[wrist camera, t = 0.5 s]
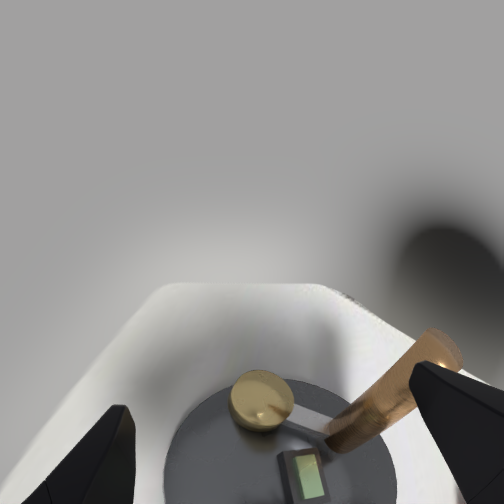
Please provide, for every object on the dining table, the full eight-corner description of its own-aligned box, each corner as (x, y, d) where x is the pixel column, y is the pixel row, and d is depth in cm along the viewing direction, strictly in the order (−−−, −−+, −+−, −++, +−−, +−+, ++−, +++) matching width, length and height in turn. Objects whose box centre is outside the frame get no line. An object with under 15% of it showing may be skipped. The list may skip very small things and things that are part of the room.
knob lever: (218, 416, 20) (287, 304, 13) (239, 371, 24) (304, 255, 18) (352, 465, 19) (469, 385, 12) (358, 420, 23) (454, 332, 16)
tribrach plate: (408, 542, 13) (432, 536, 11) (175, 602, 7) (181, 612, 5) (355, 383, 29) (370, 367, 27) (162, 375, 23) (166, 356, 21)
